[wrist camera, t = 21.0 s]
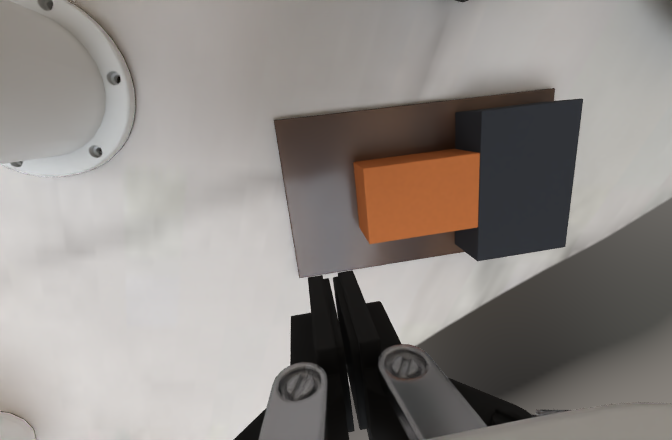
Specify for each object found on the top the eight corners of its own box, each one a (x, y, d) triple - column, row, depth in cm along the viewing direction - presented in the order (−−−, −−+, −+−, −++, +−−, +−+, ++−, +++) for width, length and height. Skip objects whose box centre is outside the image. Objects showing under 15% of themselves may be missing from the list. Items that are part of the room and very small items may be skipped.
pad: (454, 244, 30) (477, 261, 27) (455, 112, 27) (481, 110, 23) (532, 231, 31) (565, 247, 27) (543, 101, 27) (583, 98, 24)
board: (299, 275, 30) (299, 278, 29) (274, 120, 26) (273, 120, 25) (536, 237, 32) (540, 239, 31) (549, 88, 28) (555, 88, 27)
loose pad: (359, 228, 29) (369, 244, 25) (352, 161, 27) (362, 168, 23) (454, 214, 29) (478, 227, 26) (454, 148, 28) (480, 152, 24)
